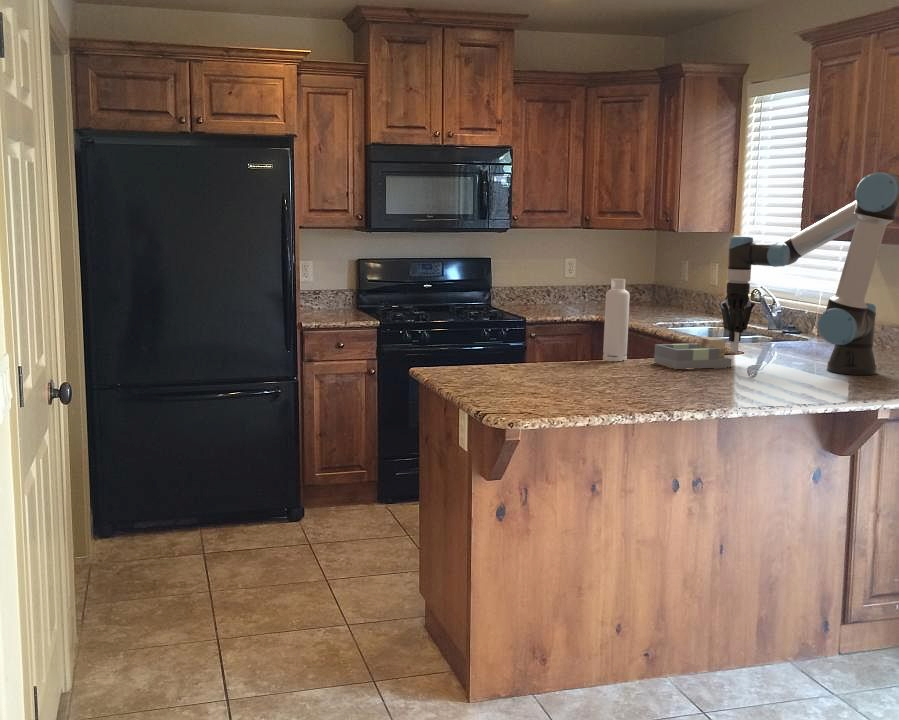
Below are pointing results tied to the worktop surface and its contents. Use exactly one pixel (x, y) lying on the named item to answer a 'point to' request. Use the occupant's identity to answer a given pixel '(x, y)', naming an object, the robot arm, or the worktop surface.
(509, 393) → the worktop surface
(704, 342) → the block
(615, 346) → the bottle
